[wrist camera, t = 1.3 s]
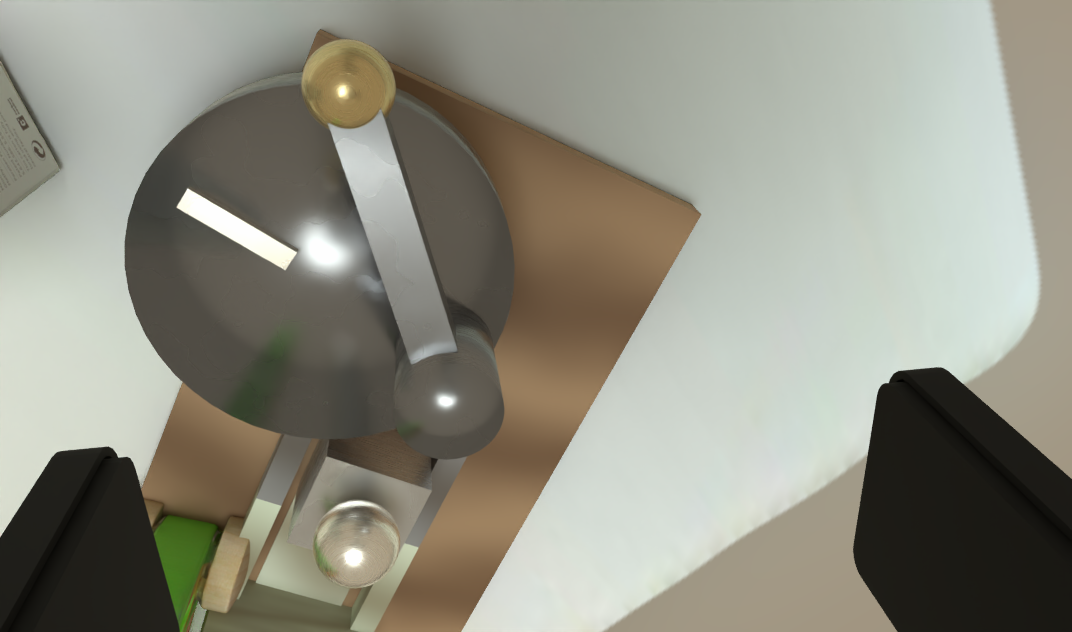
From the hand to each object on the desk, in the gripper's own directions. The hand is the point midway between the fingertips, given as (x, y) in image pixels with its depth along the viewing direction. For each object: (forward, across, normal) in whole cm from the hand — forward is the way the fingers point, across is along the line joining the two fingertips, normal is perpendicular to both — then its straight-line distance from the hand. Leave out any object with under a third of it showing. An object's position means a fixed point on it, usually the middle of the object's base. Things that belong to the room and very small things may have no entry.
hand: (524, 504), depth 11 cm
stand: (+22, +3, +11) cm, 25 cm away
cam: (+21, +4, +3) cm, 21 cm away
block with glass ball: (+21, +5, +13) cm, 25 cm away
